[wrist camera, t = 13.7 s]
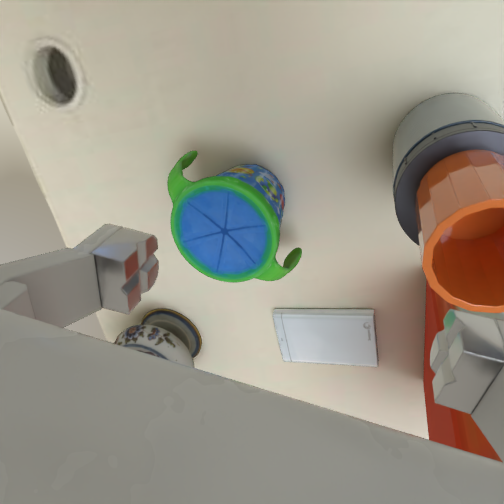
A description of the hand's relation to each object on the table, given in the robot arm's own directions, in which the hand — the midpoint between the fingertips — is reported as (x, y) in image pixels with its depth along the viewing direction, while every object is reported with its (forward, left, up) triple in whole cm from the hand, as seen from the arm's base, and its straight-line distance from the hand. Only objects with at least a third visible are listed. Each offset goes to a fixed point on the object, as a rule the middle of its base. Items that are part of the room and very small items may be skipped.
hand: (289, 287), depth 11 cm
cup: (+9, +2, -18) cm, 20 cm away
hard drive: (+18, -23, -32) cm, 43 cm away
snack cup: (-1, -15, -32) cm, 35 cm away
